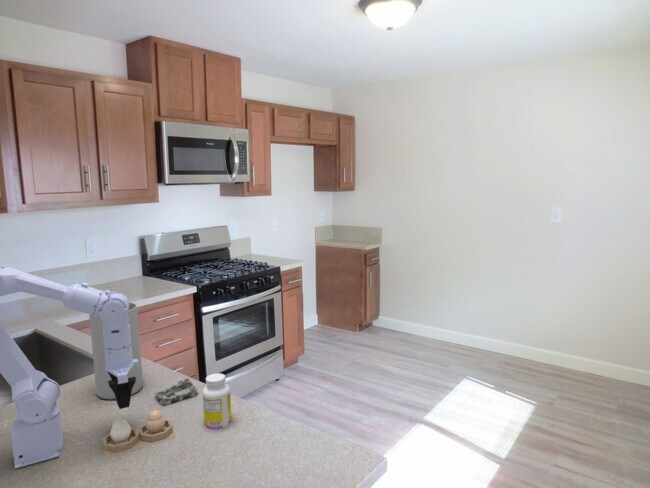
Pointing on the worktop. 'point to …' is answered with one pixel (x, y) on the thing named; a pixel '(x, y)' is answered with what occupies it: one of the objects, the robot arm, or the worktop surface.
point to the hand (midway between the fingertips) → (122, 400)
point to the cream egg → (120, 431)
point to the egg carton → (178, 387)
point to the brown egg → (155, 422)
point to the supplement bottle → (216, 402)
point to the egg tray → (137, 440)
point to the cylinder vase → (99, 354)
